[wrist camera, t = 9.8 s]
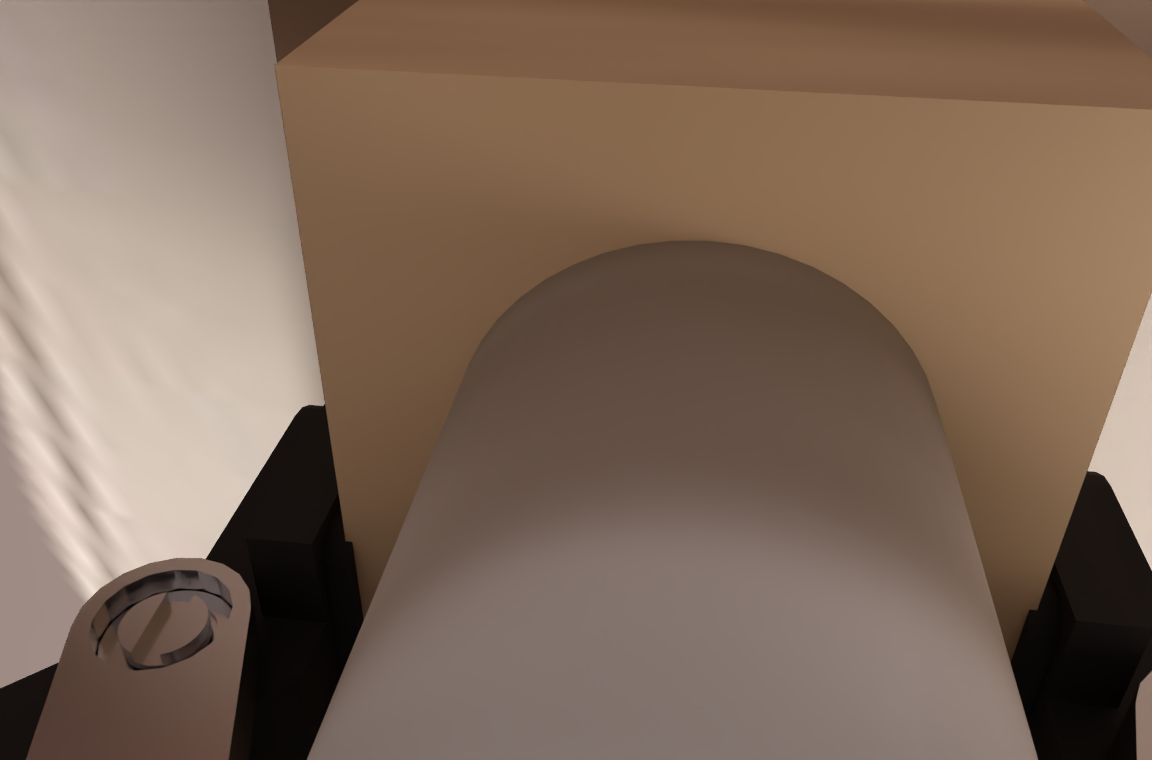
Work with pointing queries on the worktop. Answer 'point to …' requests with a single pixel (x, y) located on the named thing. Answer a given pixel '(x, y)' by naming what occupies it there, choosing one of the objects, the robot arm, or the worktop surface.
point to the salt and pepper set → (711, 362)
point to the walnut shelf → (308, 3)
